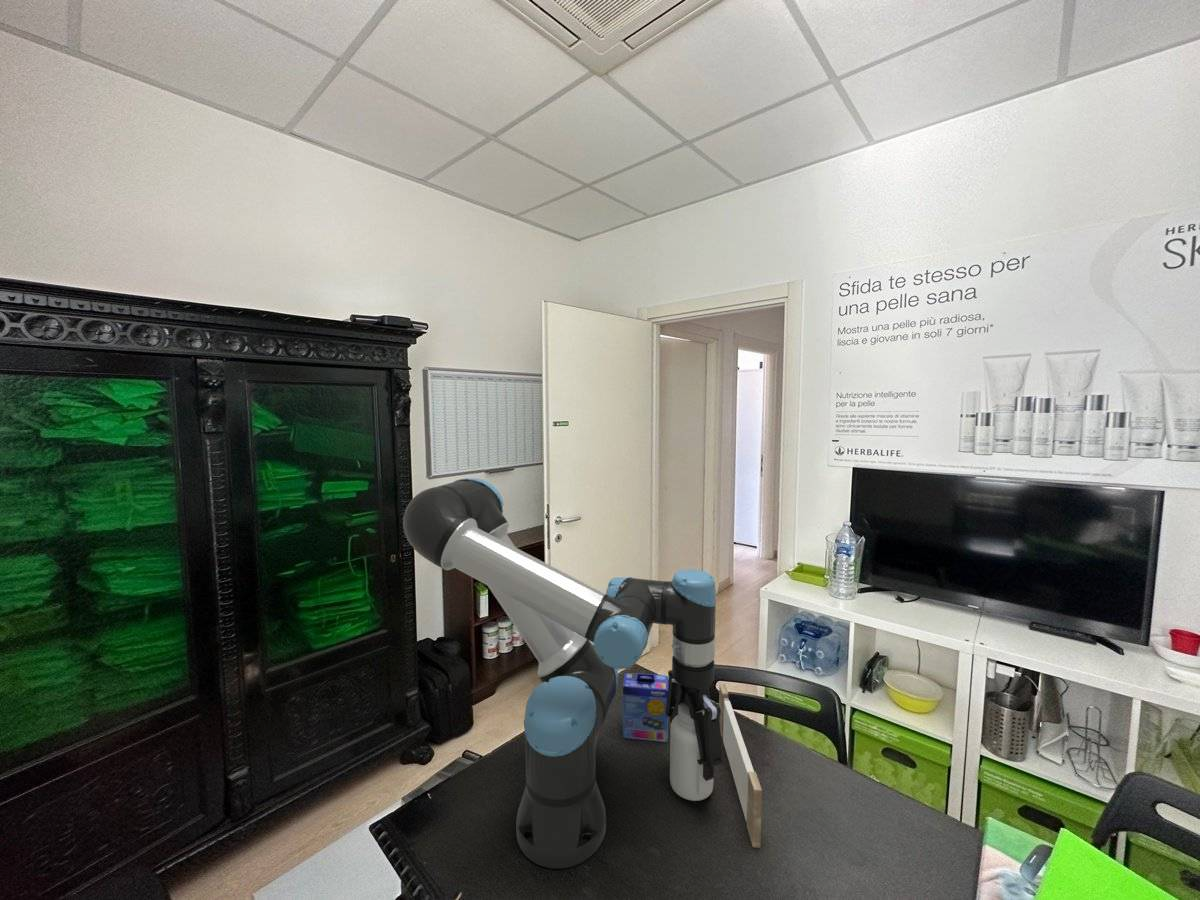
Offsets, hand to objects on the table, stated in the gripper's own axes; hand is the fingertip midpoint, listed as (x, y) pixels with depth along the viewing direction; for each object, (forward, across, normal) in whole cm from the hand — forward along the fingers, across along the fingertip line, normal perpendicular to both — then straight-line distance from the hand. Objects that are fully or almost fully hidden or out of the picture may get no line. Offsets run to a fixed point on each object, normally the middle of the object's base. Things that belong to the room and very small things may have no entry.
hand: (691, 774), depth 87 cm
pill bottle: (+2, 0, 0) cm, 2 cm away
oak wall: (+3, +1, +10) cm, 10 cm away
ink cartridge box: (+3, -17, -1) cm, 17 cm away
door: (+3, 0, +10) cm, 10 cm away
